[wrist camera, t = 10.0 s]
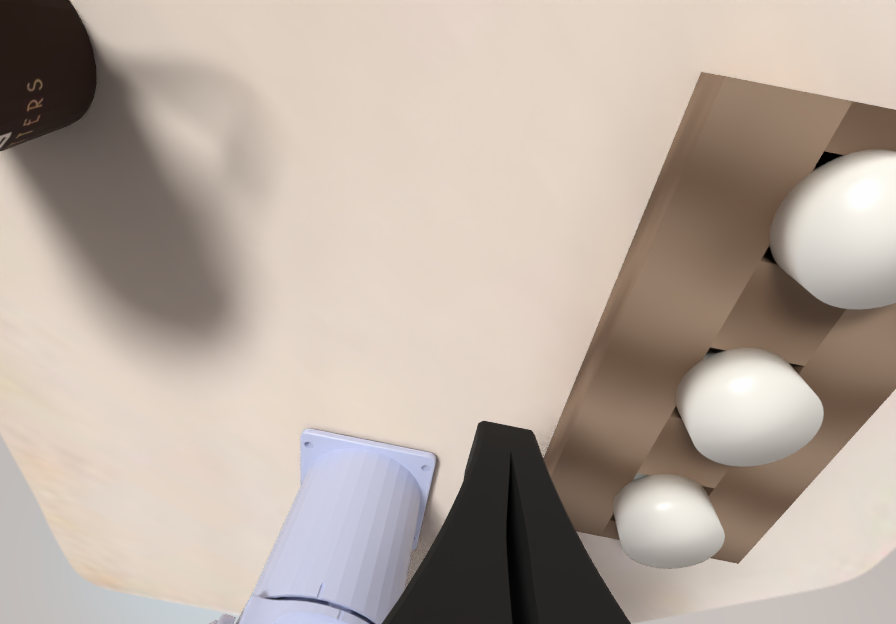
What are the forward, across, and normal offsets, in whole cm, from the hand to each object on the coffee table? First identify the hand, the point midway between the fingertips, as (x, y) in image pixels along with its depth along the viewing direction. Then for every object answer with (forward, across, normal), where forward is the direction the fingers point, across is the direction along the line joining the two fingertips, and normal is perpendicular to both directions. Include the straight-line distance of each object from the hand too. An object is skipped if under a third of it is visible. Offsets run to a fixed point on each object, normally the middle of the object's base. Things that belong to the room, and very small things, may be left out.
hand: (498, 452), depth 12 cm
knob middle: (+10, -11, +3) cm, 15 cm away
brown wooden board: (+10, -11, +2) cm, 15 cm away
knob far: (+10, -11, +10) cm, 18 cm away
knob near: (+10, -11, -5) cm, 16 cm away
